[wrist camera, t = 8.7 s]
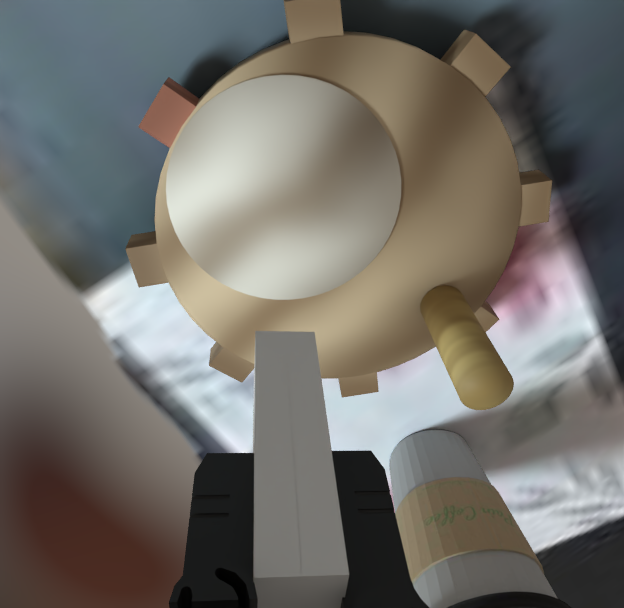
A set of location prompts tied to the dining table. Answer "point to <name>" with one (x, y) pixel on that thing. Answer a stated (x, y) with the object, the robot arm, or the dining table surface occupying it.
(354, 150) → the turntable
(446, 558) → the coffee cup
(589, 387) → the dining table surface
